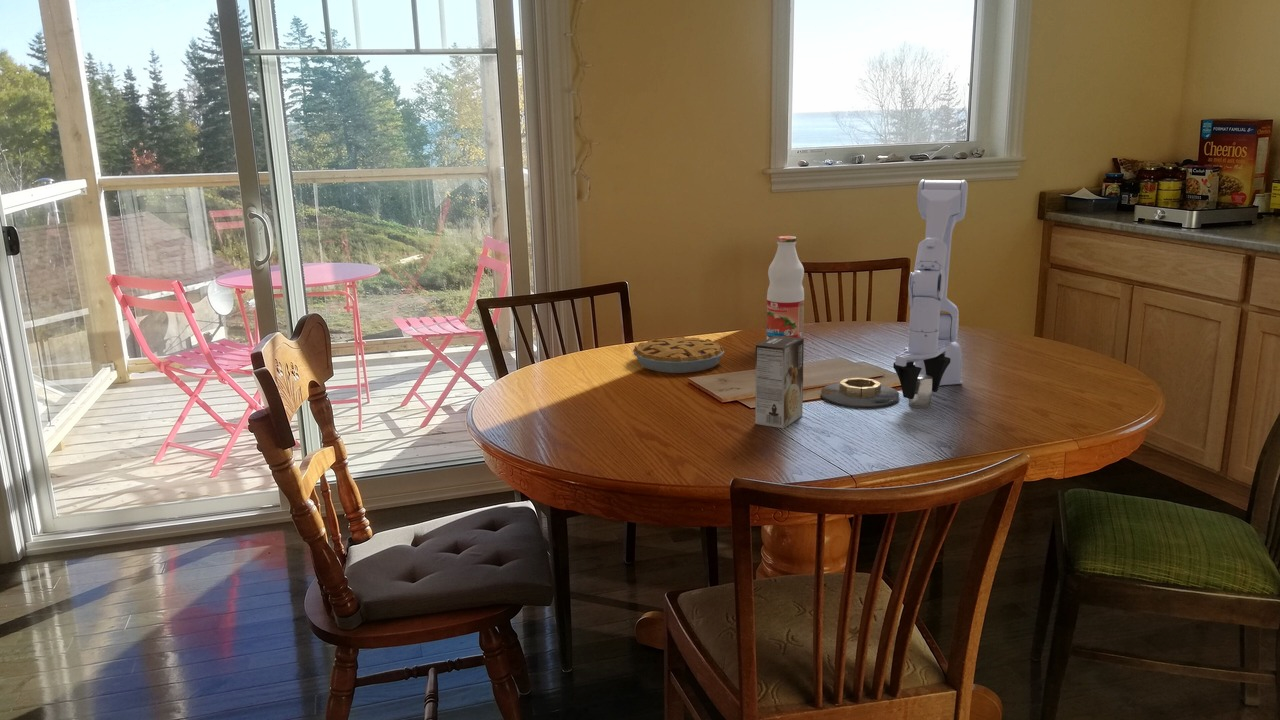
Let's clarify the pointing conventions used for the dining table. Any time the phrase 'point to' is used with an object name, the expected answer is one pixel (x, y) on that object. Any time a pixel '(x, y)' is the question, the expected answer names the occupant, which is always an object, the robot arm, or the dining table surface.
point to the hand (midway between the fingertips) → (920, 394)
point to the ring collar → (860, 393)
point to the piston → (922, 392)
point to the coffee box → (779, 381)
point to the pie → (678, 354)
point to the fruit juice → (785, 291)
